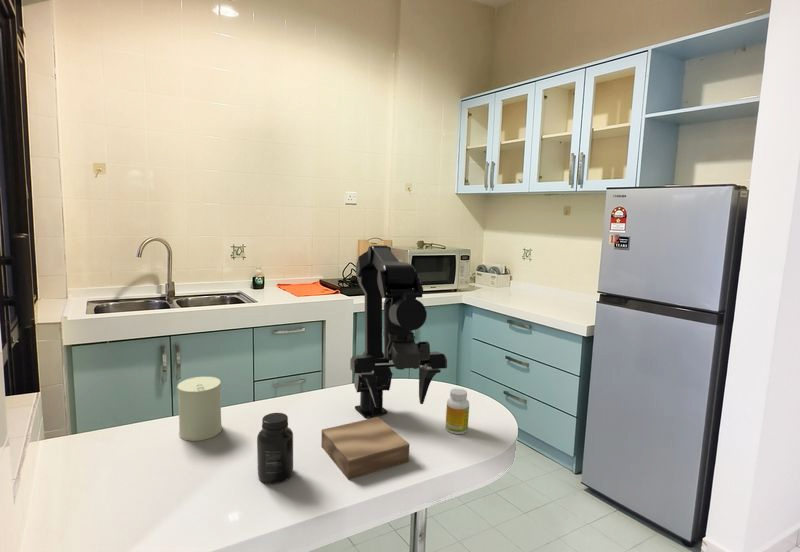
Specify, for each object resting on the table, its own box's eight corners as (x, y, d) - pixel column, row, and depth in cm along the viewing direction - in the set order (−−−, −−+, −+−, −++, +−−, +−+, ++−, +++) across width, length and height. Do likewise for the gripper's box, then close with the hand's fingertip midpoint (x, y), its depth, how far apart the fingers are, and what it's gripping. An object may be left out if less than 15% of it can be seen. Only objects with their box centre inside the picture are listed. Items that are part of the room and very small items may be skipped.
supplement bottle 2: (466, 436, 113) (469, 397, 111) (444, 433, 114) (446, 394, 112) (468, 425, 118) (470, 388, 117) (446, 422, 119) (448, 385, 118)
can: (180, 444, 104) (178, 392, 102) (177, 426, 112) (175, 377, 110) (224, 436, 108) (223, 386, 107) (219, 419, 117) (218, 372, 115)
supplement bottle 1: (300, 470, 96) (300, 414, 94) (278, 488, 90) (278, 429, 88) (273, 461, 99) (272, 407, 97) (249, 478, 93) (249, 420, 91)
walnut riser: (321, 446, 106) (321, 429, 105) (377, 432, 113) (377, 416, 112) (348, 479, 94) (348, 460, 93) (408, 461, 101) (409, 444, 100)
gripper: (358, 331, 86) (359, 419, 85) (456, 328, 91) (458, 411, 90) (349, 327, 97) (350, 405, 96) (437, 324, 101) (438, 399, 101)
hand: (399, 405), depth 95 cm, fingers open, 9 cm apart
